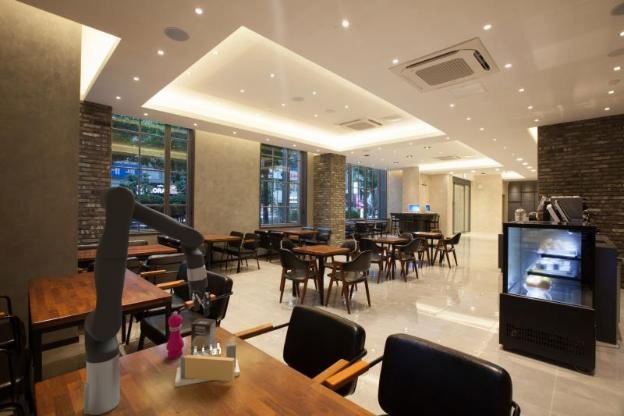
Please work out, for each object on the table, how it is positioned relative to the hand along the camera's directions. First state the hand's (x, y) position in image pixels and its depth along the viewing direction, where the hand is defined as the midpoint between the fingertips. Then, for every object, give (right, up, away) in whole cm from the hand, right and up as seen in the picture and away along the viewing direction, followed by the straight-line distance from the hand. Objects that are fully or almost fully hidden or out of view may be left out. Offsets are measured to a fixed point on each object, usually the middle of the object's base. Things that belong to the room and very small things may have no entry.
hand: (202, 312), depth 129 cm
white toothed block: (+3, -21, -4) cm, 22 cm away
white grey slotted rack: (+5, -23, -6) cm, 24 cm away
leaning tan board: (+6, -21, -12) cm, 25 cm away
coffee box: (-2, -22, +7) cm, 24 cm away
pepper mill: (-15, -22, +8) cm, 28 cm away
